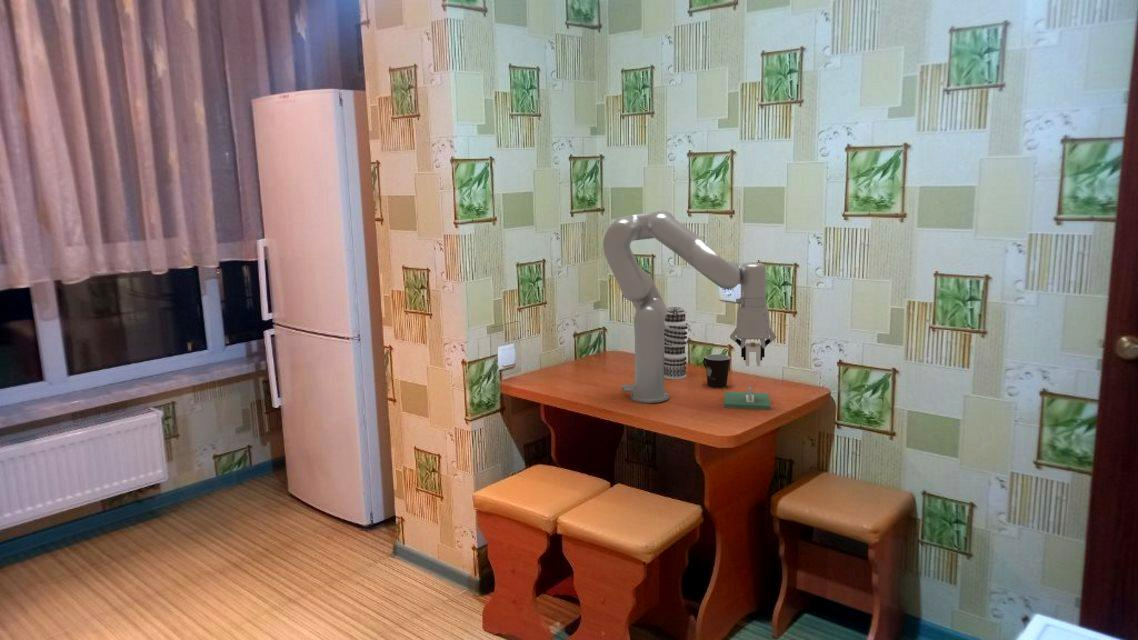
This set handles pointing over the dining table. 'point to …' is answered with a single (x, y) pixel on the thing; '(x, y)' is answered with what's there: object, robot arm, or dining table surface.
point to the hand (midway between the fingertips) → (752, 358)
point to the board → (747, 400)
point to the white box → (753, 348)
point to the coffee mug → (717, 370)
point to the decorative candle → (675, 343)
